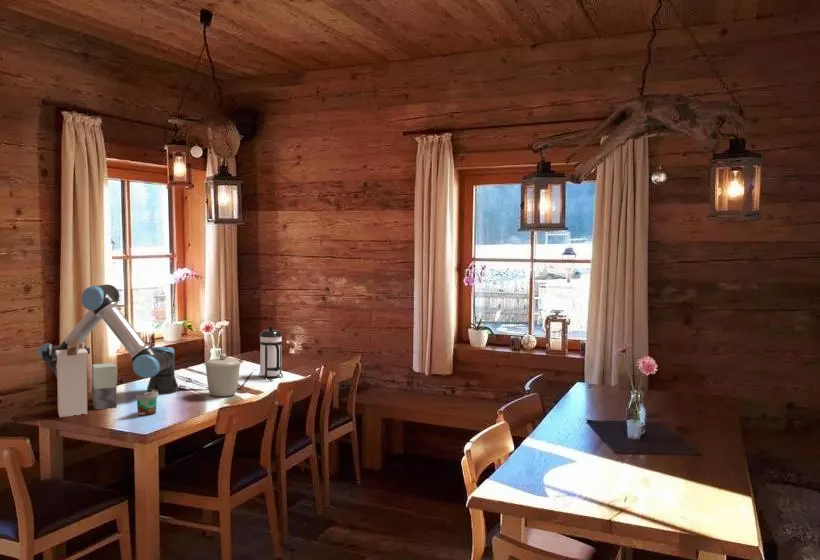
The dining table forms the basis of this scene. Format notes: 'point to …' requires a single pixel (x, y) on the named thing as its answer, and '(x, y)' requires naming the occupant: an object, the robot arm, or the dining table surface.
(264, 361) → the coffee press
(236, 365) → the canister
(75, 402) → the tall stand
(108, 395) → the tower base block
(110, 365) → the tower top block
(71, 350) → the walnut bar
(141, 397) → the food container
